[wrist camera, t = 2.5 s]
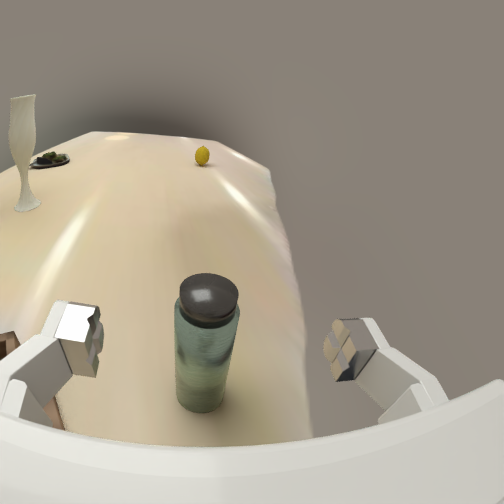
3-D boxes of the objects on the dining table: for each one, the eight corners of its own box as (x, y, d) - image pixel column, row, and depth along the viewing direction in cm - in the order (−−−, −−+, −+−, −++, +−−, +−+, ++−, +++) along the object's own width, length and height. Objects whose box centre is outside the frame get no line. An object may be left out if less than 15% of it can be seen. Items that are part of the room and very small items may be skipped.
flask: (209, 420, 29) (223, 325, 21) (167, 398, 30) (160, 294, 22) (231, 387, 34) (253, 286, 25) (191, 367, 35) (198, 263, 27)
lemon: (191, 164, 111) (193, 144, 107) (202, 163, 115) (205, 144, 111) (199, 168, 108) (201, 148, 104) (210, 167, 112) (213, 147, 108)
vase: (8, 209, 59) (2, 100, 44) (27, 197, 66) (24, 96, 51) (27, 213, 59) (21, 97, 44) (46, 201, 66) (44, 93, 51)
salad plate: (32, 160, 97) (31, 150, 95) (68, 154, 107) (68, 144, 105) (28, 172, 85) (28, 160, 82) (70, 165, 95) (70, 154, 93)
